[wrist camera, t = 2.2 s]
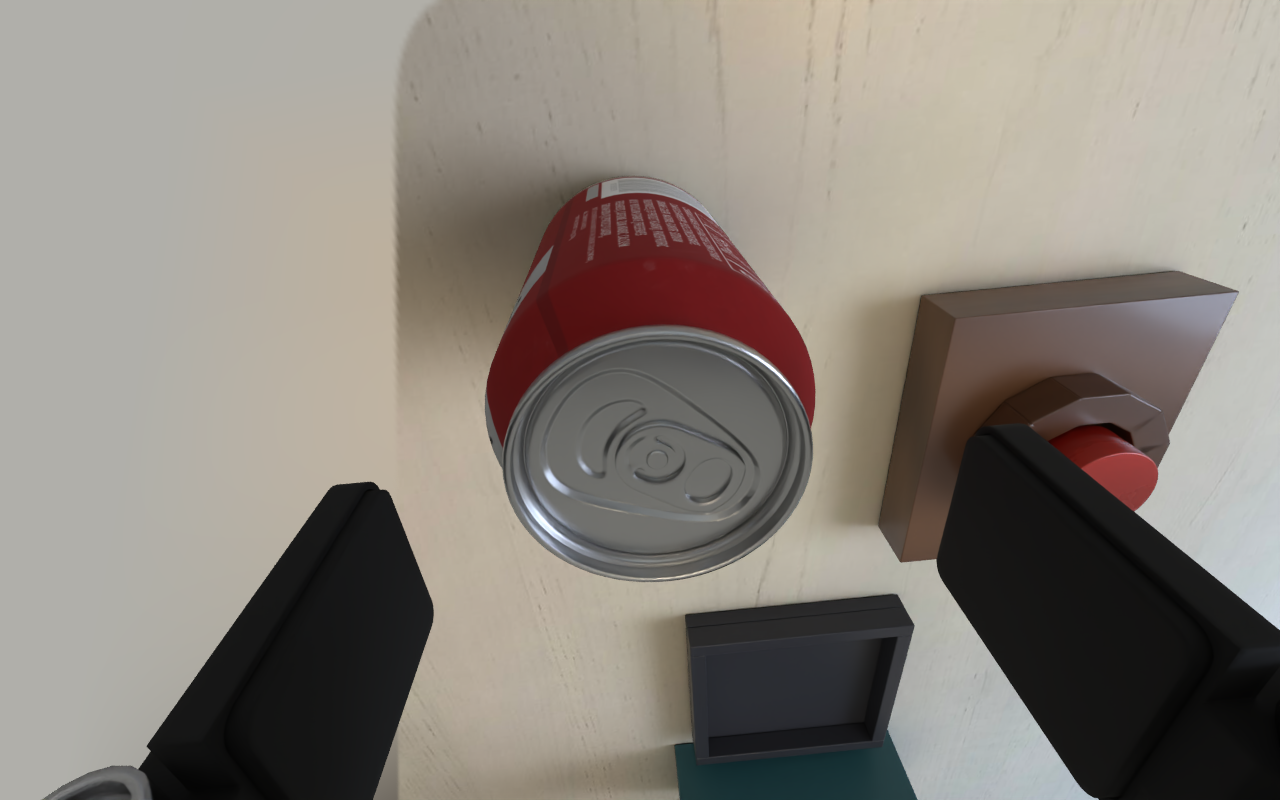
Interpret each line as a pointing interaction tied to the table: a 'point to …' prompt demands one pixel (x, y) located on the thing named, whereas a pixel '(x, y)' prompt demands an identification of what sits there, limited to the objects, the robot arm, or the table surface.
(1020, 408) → the switch
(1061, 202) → the table surface
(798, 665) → the tray
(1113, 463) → the button
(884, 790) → the drinks machine
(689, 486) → the soda can
